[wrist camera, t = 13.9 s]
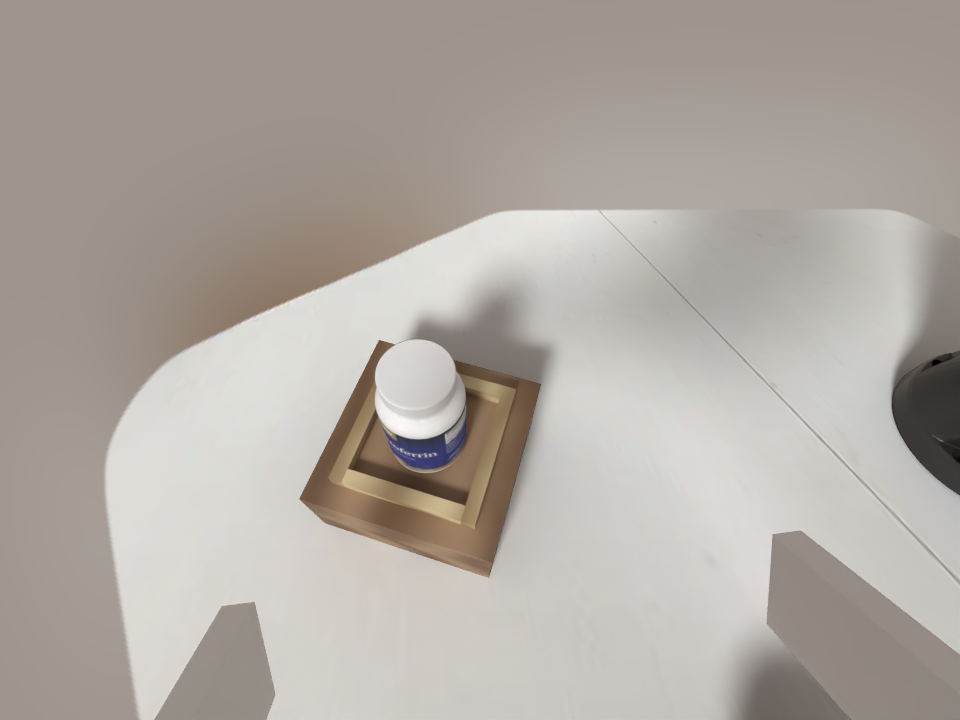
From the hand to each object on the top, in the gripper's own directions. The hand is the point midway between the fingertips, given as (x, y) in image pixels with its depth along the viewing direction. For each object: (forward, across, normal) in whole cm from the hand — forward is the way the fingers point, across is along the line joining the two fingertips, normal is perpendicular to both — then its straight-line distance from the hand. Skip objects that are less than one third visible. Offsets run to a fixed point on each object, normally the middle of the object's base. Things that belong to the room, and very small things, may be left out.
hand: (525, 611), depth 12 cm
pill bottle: (+24, -3, -5) cm, 25 cm away
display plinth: (+29, -3, -10) cm, 31 cm away
